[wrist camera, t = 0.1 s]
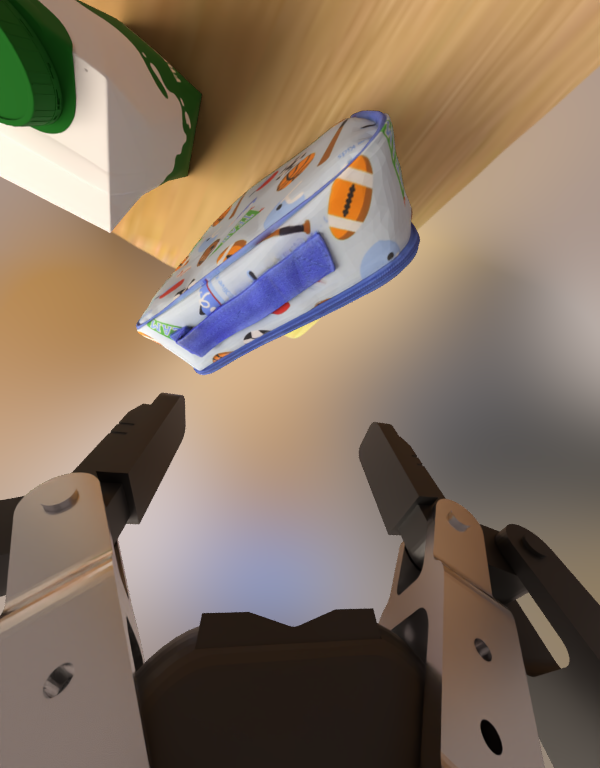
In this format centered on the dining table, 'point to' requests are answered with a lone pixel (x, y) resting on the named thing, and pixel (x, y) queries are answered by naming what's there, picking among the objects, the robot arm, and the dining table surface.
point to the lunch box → (291, 248)
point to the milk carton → (88, 109)
